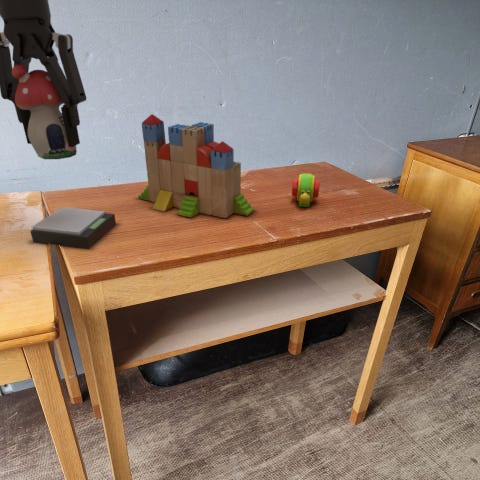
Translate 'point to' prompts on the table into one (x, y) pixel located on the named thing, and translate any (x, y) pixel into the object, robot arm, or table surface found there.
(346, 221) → the table surface
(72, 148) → the decorative ornament
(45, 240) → the kitchen scale
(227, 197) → the block set
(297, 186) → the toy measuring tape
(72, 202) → the table surface
